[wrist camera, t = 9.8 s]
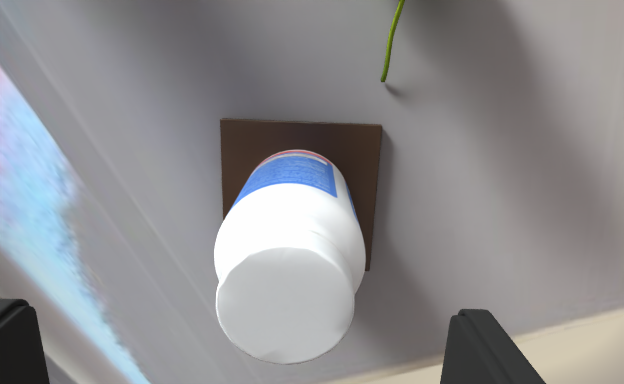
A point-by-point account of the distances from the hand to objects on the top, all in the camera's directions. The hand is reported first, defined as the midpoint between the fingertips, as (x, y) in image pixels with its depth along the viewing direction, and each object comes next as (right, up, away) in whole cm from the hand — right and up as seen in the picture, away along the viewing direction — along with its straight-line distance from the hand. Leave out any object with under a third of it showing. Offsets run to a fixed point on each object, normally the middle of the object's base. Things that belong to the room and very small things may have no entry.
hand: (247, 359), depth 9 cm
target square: (+1, +4, +12) cm, 12 cm away
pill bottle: (+1, +3, +12) cm, 12 cm away
